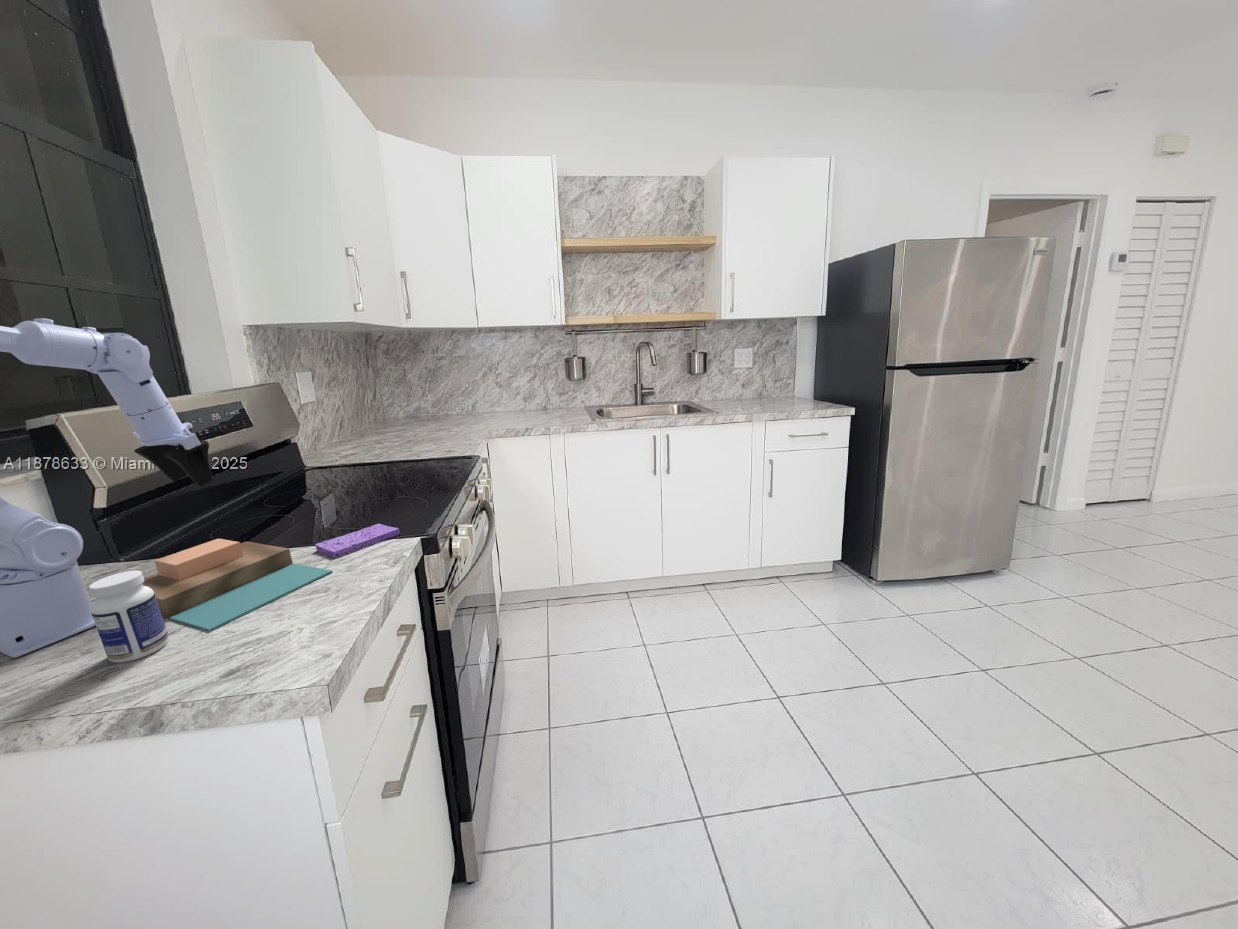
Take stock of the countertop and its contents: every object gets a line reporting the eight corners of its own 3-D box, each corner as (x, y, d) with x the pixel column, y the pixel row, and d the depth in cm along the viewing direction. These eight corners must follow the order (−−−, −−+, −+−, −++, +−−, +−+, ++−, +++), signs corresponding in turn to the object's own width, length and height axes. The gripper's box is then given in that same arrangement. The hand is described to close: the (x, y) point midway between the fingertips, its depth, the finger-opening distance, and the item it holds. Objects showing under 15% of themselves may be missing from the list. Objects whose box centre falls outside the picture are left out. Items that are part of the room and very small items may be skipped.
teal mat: (209, 631, 67) (209, 629, 66) (169, 619, 70) (169, 617, 70) (332, 572, 82) (332, 570, 82) (294, 565, 86) (293, 563, 86)
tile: (180, 580, 76) (175, 565, 75) (158, 575, 78) (154, 560, 78) (243, 556, 84) (239, 542, 83) (222, 552, 86) (218, 538, 86)
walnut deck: (168, 618, 71) (162, 599, 70) (124, 605, 75) (118, 587, 75) (292, 564, 86) (289, 548, 86) (250, 556, 91) (246, 541, 91)
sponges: (316, 553, 92) (314, 544, 92) (381, 530, 102) (379, 521, 102) (335, 561, 88) (333, 551, 88) (400, 536, 98) (399, 527, 98)
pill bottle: (167, 632, 67) (145, 564, 65) (172, 648, 63) (149, 576, 61) (108, 652, 63) (82, 580, 61) (109, 671, 59) (81, 595, 57)
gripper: (200, 400, 80) (241, 473, 87) (150, 396, 86) (192, 465, 92) (151, 419, 75) (199, 495, 81) (101, 413, 80) (149, 485, 87)
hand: (192, 480), depth 86 cm, fingers open, 7 cm apart
